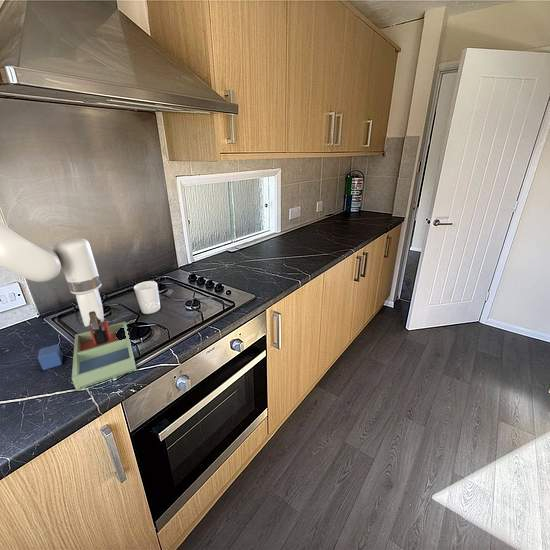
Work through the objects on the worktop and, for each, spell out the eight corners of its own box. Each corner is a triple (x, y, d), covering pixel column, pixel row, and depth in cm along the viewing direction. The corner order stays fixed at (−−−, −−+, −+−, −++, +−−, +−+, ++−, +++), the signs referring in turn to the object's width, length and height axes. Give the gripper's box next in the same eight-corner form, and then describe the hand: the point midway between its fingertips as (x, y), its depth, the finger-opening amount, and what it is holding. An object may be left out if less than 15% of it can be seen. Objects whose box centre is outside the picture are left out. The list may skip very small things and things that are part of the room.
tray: (76, 390, 73) (71, 378, 71) (78, 345, 91) (75, 334, 89) (136, 369, 79) (133, 358, 78) (127, 331, 97) (125, 321, 95)
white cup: (161, 302, 114) (156, 279, 111) (162, 312, 108) (157, 287, 104) (140, 306, 112) (134, 283, 108) (139, 316, 105) (133, 291, 101)
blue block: (42, 370, 80) (37, 357, 79) (44, 361, 84) (39, 348, 82) (62, 364, 82) (57, 351, 81) (63, 356, 86) (58, 343, 84)
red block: (94, 344, 85) (90, 332, 84) (94, 337, 89) (90, 325, 87) (111, 339, 87) (107, 327, 86) (110, 332, 91) (106, 320, 89)
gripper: (70, 276, 86) (88, 328, 93) (66, 298, 72) (88, 358, 80) (99, 270, 89) (114, 321, 96) (101, 291, 76) (118, 348, 83)
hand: (102, 337), depth 88 cm, fingers closed on red block, 4 cm apart
